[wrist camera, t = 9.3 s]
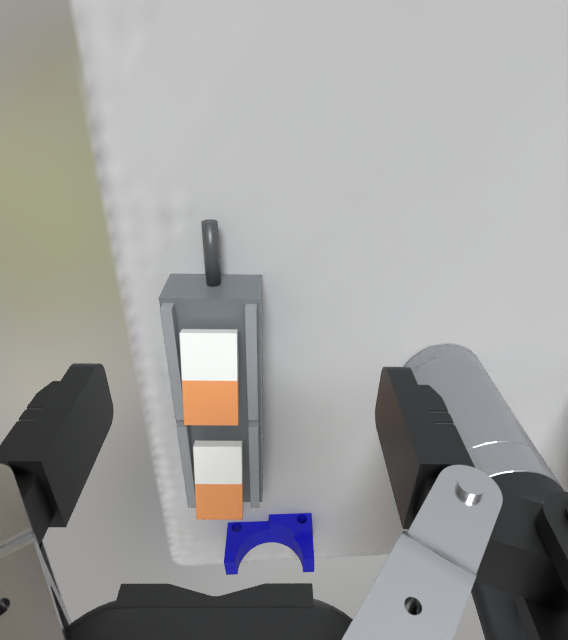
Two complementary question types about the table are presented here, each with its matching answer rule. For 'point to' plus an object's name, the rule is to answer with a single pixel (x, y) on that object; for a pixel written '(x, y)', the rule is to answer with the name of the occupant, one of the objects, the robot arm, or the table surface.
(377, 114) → the table surface
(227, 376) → the rocker
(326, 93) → the table surface
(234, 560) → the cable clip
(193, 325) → the box
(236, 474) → the block
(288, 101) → the table surface
